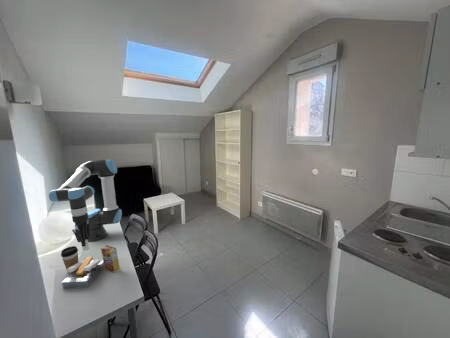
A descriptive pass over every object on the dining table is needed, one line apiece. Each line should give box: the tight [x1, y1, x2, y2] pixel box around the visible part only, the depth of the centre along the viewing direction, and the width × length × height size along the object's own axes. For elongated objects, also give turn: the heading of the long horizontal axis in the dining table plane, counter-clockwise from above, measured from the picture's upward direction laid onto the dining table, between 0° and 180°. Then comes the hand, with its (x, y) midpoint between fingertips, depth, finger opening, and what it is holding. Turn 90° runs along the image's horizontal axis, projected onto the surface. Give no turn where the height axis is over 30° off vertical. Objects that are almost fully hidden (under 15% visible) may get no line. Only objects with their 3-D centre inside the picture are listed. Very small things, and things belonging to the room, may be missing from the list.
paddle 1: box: [68, 259, 85, 272], centre depth 117 cm, size 11×3×2 cm, turn 3°
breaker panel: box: [61, 259, 105, 289], centre depth 118 cm, size 18×14×5 cm
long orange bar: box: [76, 256, 94, 275], centre depth 117 cm, size 11×3×2 cm, turn 3°
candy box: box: [100, 244, 120, 273], centre depth 122 cm, size 9×4×15 cm, turn 69°
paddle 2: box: [84, 259, 102, 271], centre depth 118 cm, size 11×3×2 cm, turn 3°
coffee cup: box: [60, 245, 79, 274], centre depth 122 cm, size 8×8×15 cm
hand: (86, 249), depth 119 cm, fingers closed
